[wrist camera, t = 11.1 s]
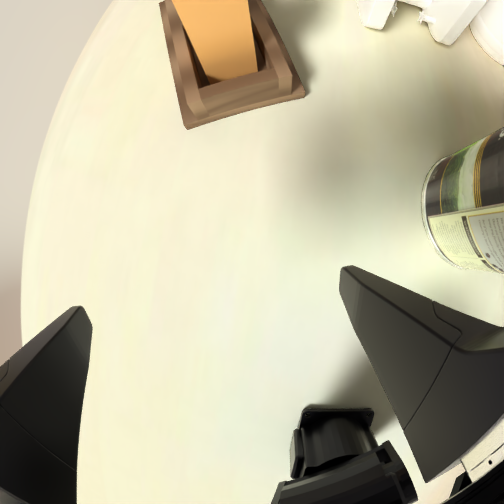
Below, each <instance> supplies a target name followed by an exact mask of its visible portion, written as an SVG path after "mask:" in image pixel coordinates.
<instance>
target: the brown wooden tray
mask: <svg viewBox="0 0 504 504" xmlns="http://www.w3.org/2000/svg"><path fill="white" fill-rule="evenodd" d="M159 6H160V11H161V17H162V22H163V28H164V33H165V38H166V43H167V48H168V54H169V58H170V63H171V68H172V73H173V78H174V83H175V87H176V92H177V97H178V101H179V106H180V110H181V115H182V119H183V124H184V126H185V128H186V129H187V130H189V129H192V128H195V127H198V126H201V125H204V124H207V123H210V122H213V121H216V120H219V119H222V118H226V117H229V116H232V115H236V114H239V113H243V112H246V111H250V110H254V109H257V108H261V107H265V106H269V105H273V104H277V103H282V102H286V101H290V100H295V99H300V98H304V96H305V90H304V88H303V85H302V83H301V81H300V78H299V76H298V74H297V72H296V69H295V67H294V65H293V63H292V60H291V58H290V56H289V54H288V52H287V50H286V48H285V45H284V43H283V41H282V39H281V37H280V35H279V33H278V31H277V29H276V27H275V25H274V23H273V21H272V19H271V18H270V16H269V14H268V12H267V10H266V8H265V6H264V5H263V3H262V1H261V0H248V6H249V12H250V19H251V26H252V33H253V40H254V47H255V54H256V61H257V68H258V72H255V73H251V74H247V75H243V76H239V77H236V78H232V79H229V80H225V81H222V82H218V83H215V84H212V85H210V83H209V81H208V78H207V76H206V74H205V72H204V69H203V67H202V65H201V63H200V60H199V58H198V56H197V54H196V52H195V49H194V47H193V45H192V43H191V41H190V38H189V36H188V34H187V32H186V30H185V28H184V26H183V23H182V21H181V19H180V17H179V15H178V13H177V11H176V8H175V6H174V4H173V2H172V0H165V1H163V2H160V3H159Z"/></svg>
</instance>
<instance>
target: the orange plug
mask: <svg viewBox="0 0 504 504" xmlns="http://www.w3.org/2000/svg"><path fill="white" fill-rule="evenodd" d="M172 2H173V4H174V6H175V8H176V11H177V13H178V15H179V17H180V19H181V21H182V23H183V26H184V28H185V30H186V32H187V34H188V36H189V38H190V41H191V43H192V45H193V47H194V49H195V52H196V54H197V56H198V58H199V60H200V63H201V65H202V67H203V69H204V72H205V74H206V76H207V78H208V81H209V83H210V85H212V84H215V83H218V82H222V81H225V80H229V79H232V78H236V77H239V76H243V75H247V74H251V73H255V72H258V68H257V61H256V54H255V47H254V40H253V33H252V26H251V19H250V12H249V6H248V0H172Z"/></svg>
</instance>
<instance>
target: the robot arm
mask: <svg viewBox="0 0 504 504" xmlns="http://www.w3.org/2000/svg"><path fill="white" fill-rule="evenodd" d="M339 291H340V295H341V297H342V300H343V303H344V305H345V308H346V310H347V313H348V315H349V318H350V321H351V323H352V326H353V328H354V330H355V332H356V335H357V336H358V338H359V340H360V342H361V344H362V346H363V348H364V350H365V352H366V354H367V356H368V358H369V360H370V362H371V364H372V366H373V368H374V370H375V372H376V374H377V376H378V378H379V380H380V382H381V384H382V386H383V388H384V390H385V393H386V395H387V397H388V399H389V401H390V403H391V405H392V407H393V410H394V412H395V414H396V416H397V418H398V420H399V423H400V425H401V427H402V429H403V430H404V431H403V432H404V434H405V436H406V439H407V441H408V443H409V445H410V448H411V450H412V452H413V455H414V457H415V459H416V462H417V464H418V467H419V469H420V471H421V474H422V476H423V479H424V481H425V483H428V482H430V481H432V480H433V479H435V478H437V477H439V476H440V475H442V474H444V473H445V472H447V471H449V470H450V469H452V468H454V467H455V466H457V465H458V464H460V463H462V465H463V467H464V469H465V470H466V471H465V472H464V473H462V474H461V475H460V476H458V477H457V478H456V480H455V483H454V486H453V489H452V492H451V494H450V497H449V499H447V500H446V501H444V502H442V503H441V504H504V327H499V326H496V325H493V324H490V323H488V322H485V321H482V320H480V319H477V318H474V317H472V316H469V315H466V314H464V313H461V312H459V311H456V310H453V309H451V308H449V307H447V306H444V305H442V304H440V303H438V302H435V301H432V300H431V299H429V298H426V297H424V296H422V295H420V294H418V293H415V292H413V291H411V290H409V289H406V288H404V287H402V286H400V285H397V284H395V283H393V282H390V281H388V280H386V279H384V278H381V277H379V276H377V275H374V274H372V273H370V272H367V271H365V270H363V269H360V268H358V267H356V266H353V265H351V266H345V267H342V268H341V271H340V283H339ZM91 339H92V324H91V321H90V319H89V317H88V315H87V313H86V311H85V309H84V308H83V307H82V306H73V307H71V308H69V309H68V310H67V311H66V312H64V313H63V314H62V315H61V316H59V317H58V318H57V319H56V320H54V321H53V322H52V323H51V324H50V325H48V326H47V327H46V328H45V329H43V330H42V331H41V332H40V333H39V334H37V335H36V336H35V337H34V338H33V339H32V340H30V341H29V342H28V343H27V344H26V345H24V346H23V347H22V348H21V349H20V350H19V351H18V352H16V353H15V354H14V355H13V356H12V357H11V358H10V360H7V361H6V362H5V363H4V364H3V365H2V366H1V367H0V504H77V458H78V444H79V432H80V423H81V414H82V406H83V399H84V392H85V386H86V380H87V374H88V368H89V360H90V349H91ZM307 413H309V414H310V415H308V416H306V415H305V414H307ZM367 413H370V414H369V415H366V414H367ZM373 416H374V412H373V410H372V409H370V408H364V409H304V410H303V411H302V413H301V418H300V423H299V428H298V429H295V430H294V431H293V436H292V441H291V446H290V477H291V478H292V479H294V480H291V481H283V482H279V484H278V487H277V489H276V492H275V495H274V497H273V500H272V502H271V504H412V503H414V502H416V501H418V497H417V493H416V490H415V488H414V485H413V483H412V480H411V478H410V476H409V473H408V471H407V469H406V467H405V465H404V463H403V462H402V460H401V458H400V457H399V455H398V454H397V452H396V451H395V449H394V448H393V446H392V444H391V443H390V441H389V440H388V441H386V442H384V443H382V445H380V446H378V443H377V441H376V439H375V437H374V435H373V433H372V431H371V429H370V426H371V423H372V420H373Z"/></svg>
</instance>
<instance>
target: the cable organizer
mask: <svg viewBox="0 0 504 504" xmlns="http://www.w3.org/2000/svg"><path fill="white" fill-rule="evenodd" d="M398 1H402V2H405V3H408V4H412V5H415V6H418V7H421V8H422V10H423V11H422V12H420V11H419V18H418V20H417V21H420V25H421V22H422V21H425V22H427V24H428V27H429V30H430V33H431V35H432V37H433V38H434V39H435V40H436V41H438V42H440V43H443V44H446V45H452V44H453V43H454V41H455V40H456V39H457V38H458V37H459V35H460V34H461V33H462V32H463V30H464V29H465V28H466V27H467V26H468V24H469V23H470V22H471V21H472V19H473V18H474V17H475V16H476V15H477V13H478V12H479V11H480V10H481V8H482V7H483V6H484V5H485V3H486V1H487V0H398ZM356 2H357V6H358V11H359V16H360V20H361V23H362V24H363V26H365V27H370V28H374V29H379V30H381V29H382V28H383V27H384V25H385V23H386V21H387V18H388V16H389V14H390V12H391V11H392V12H391V14H393V18H394V15H395V12H396V11H397V10H398V9H397V7H396V4H397V1H396V3H395V0H356ZM394 3H395V5H394Z"/></svg>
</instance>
